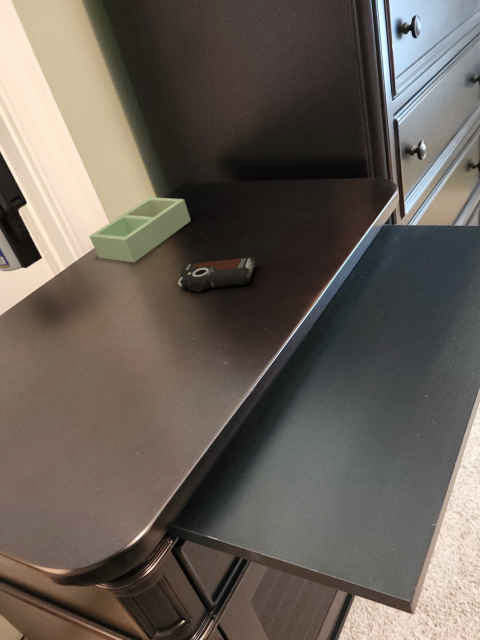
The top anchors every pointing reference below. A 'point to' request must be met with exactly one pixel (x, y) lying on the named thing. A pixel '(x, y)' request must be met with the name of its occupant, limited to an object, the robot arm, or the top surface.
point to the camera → (216, 274)
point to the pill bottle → (7, 256)
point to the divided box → (140, 229)
